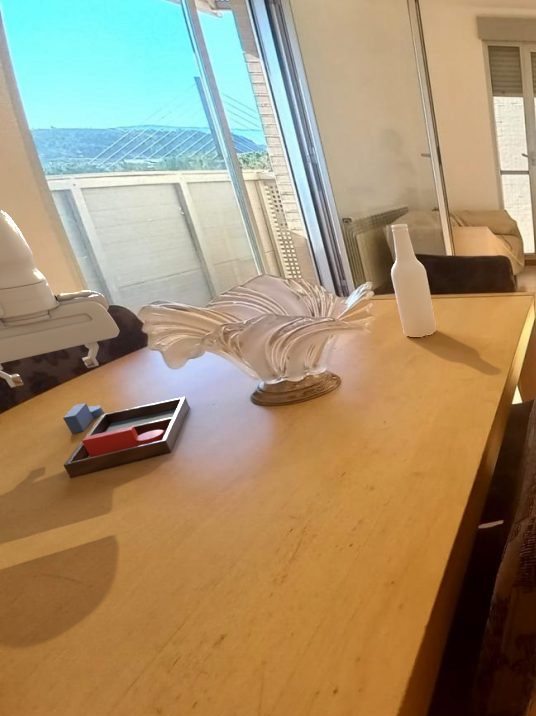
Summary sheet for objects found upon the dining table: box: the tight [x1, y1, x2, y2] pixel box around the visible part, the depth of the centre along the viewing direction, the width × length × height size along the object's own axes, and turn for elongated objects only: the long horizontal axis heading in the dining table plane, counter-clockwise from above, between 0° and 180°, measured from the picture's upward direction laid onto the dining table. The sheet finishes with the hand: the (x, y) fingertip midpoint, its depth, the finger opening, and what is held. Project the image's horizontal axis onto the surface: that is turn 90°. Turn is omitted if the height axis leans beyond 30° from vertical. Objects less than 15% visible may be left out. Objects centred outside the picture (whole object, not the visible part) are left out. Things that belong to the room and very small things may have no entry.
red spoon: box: [81, 426, 165, 457], centre depth 81 cm, size 9×4×3 cm, turn 123°
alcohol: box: [390, 223, 437, 337], centre depth 129 cm, size 9×9×30 cm
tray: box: [62, 396, 190, 479], centre depth 85 cm, size 12×20×2 cm, turn 33°
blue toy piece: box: [62, 402, 105, 434], centre depth 91 cm, size 9×4×3 cm, turn 33°
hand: (56, 375), depth 86 cm, fingers open, 8 cm apart
